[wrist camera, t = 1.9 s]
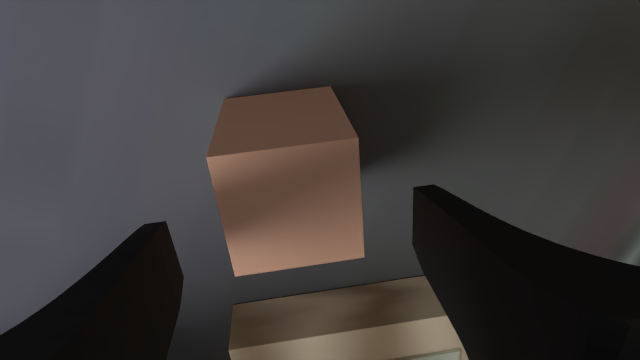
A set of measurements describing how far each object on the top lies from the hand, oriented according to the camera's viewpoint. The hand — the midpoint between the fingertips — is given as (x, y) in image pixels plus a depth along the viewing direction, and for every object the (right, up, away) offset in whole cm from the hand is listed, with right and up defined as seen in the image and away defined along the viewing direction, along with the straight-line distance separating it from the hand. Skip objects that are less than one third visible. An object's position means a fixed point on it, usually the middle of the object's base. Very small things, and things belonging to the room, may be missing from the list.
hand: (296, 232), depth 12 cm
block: (-1, +3, +6) cm, 7 cm away
